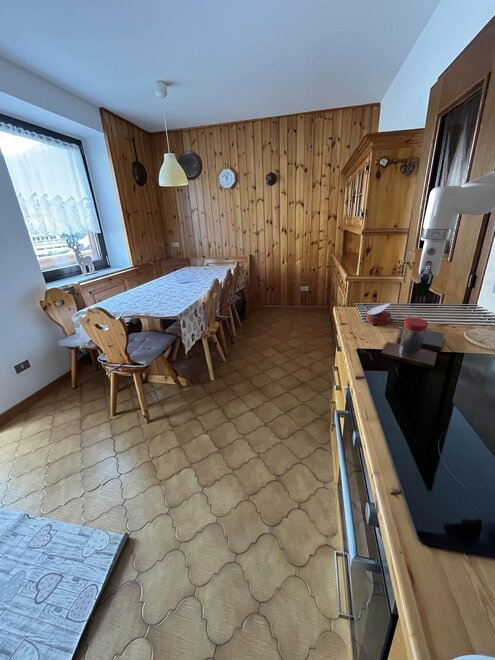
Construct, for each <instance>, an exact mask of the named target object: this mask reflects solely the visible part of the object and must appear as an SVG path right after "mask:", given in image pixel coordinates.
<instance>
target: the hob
mask: <svg viewBox="0 0 495 660" xmlns="http://www.w3.org/2000/svg"><path fill="white" fill-rule="evenodd" d="M398 328H399V329H401V330H400V332H399V334H398V337H397V341H396V344H400V343H401V338H402V334H403V329H404V325H403V326H398ZM444 339H445V332H443V331H442V332H441V331H436V330H433V329H426V332H425V335H424V339H423V343H422V347H421V349H422V350H427V351H431V352H436V353H437V354H441V351H442V348H443V343H444Z"/></svg>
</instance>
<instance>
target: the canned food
mask: <svg viewBox="0 0 495 660" xmlns="http://www.w3.org/2000/svg"><path fill="white" fill-rule="evenodd" d="M390 305H391V303H390V302H389V303H385V304H380V305H377V306H374V307H372V308H370V309H369V310H367V311H366V317H365V321H367V322H369V323H371V324H374V325H387V324H390V322H391V318H392V313H391V312H389V311H387V310H385V309H387V308H388V307H390Z"/></svg>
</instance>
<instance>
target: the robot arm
mask: <svg viewBox="0 0 495 660" xmlns="http://www.w3.org/2000/svg"><path fill="white" fill-rule="evenodd" d="M494 210H495V170H493V171H491V172H488V173H486V174H484V175H482V176H480V177H478V178H475V179H472V180H471V181H467V182H466V183H464V184H463V185H461V186H460V185H442V186H435V187H434V188H432V190H431V191H430V193H429V197H428V202H427V207H426V211H425V216H424V220H423V225H422V230H421V235H420V240H421V241H422V242H423V241H424V243H423V247H422V250H421V251H422V252H421V256H420V262H419V269H418V274H419V276H420V277H419V279H418V282H417V285H416V289H415V294H414V295H415V296H417V297H424V298H427V297H428V295H429V291H430V288H431V287H432V285H433V280H434V277H436V278H437V277H438V276H439V273H440V269H441V265H442V262H443V259H444V254H445V249H446V244H447V242H450V241H451V240H452V238H453V235H454V234H453V233H454V230H455V227H456V223H457V219H458V215H468V216H484V215H487V214H489V213H492V212H493V211H494Z"/></svg>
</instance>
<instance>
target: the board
mask: <svg viewBox="0 0 495 660" xmlns="http://www.w3.org/2000/svg"><path fill="white" fill-rule="evenodd" d="M399 348H400V344H397V343H395V342H391V341H386V343H385V345H384V346H383V348H382V351H381V353H380V357H383V358H387V359H391V360H394V361H399V362H403V363H407V364H411V365H415V366H418V367H423V368H427V369H430V370H434V369H435V368H434V367H435V364H436V359H437V355H438V352H433V351H429V350H424V349H421V351H420V355H419V356H418V357H413V358H412V357H406V356H404V355H402V354H400V353H399Z"/></svg>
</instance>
